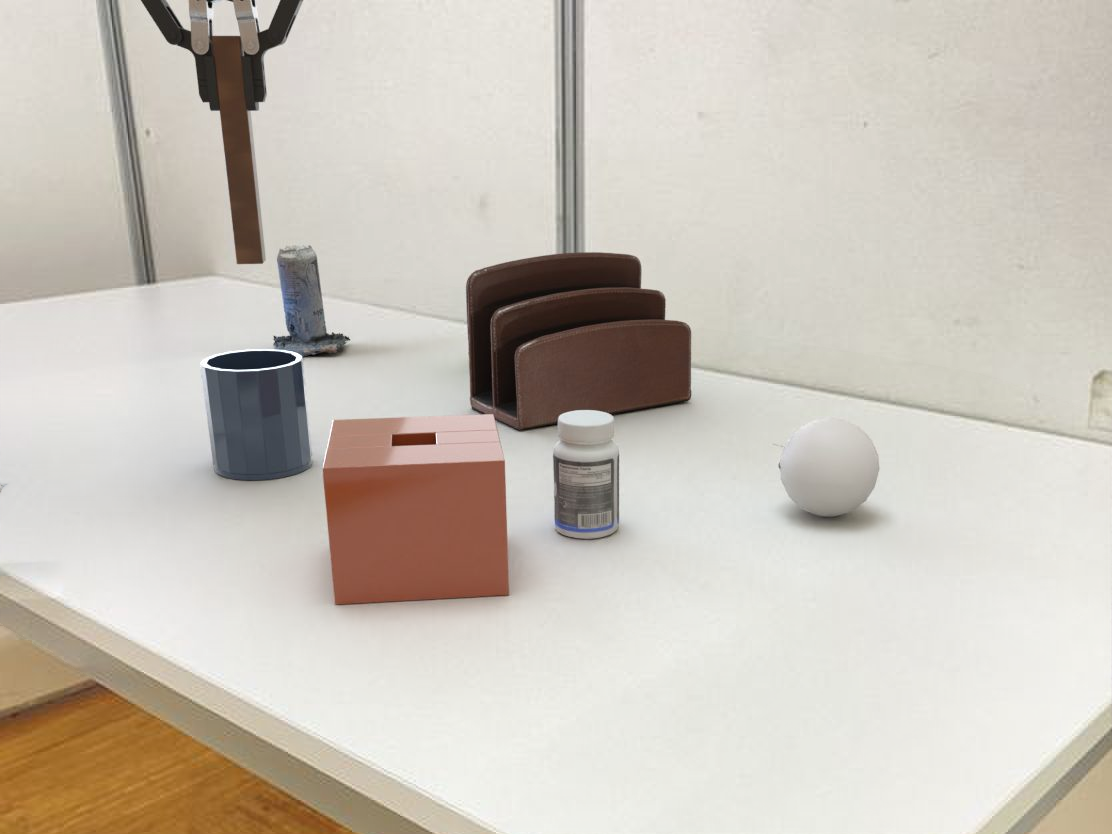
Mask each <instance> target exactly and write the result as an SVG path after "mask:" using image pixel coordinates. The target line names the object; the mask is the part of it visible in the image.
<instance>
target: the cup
mask: <svg viewBox="0 0 1112 834" xmlns="http://www.w3.org/2000/svg"><path fill="white" fill-rule="evenodd" d="M199 366H200V373H201V381H202V389H203V398H204V404H205V412H206V420H207V429H208V435H209V443H210V450H211V459H212V464H213V468H214V472H215V473H216V474H217V475H218V476H220V477H223V478H226V479H230V480H239V481H265V480H276V479H281V478H287V477H291V476H294V475H297V474H300V473H302V472H304V471H306V470H308V469H310V468H311V466H312V465H313V450H312V449H313V447H312V437H311V428H310V418H309V417H310V416H309V408H308V397H307V396H308V395H307V389H306V388H307V385H306V376H305V365H304V357H302V356H301V355H299V354H298V353H295V352H293V351H292V352H290V351H285V350H275V349H267V348H264V349H263V348H262V349H259V348H258V349H243V350H234V351H227V352H223V353H222V352H221V353H216V354H213V355H210V356H208V357H206V358H204V359H202V360H201V362H200V363H199Z"/></svg>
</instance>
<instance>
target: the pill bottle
mask: <svg viewBox="0 0 1112 834" xmlns="http://www.w3.org/2000/svg"><path fill="white" fill-rule="evenodd" d="M614 437H615V418H614V416H613V414H608V413H605V412H601V411H595V410H576V411H570V412H566V413H563V414H561V415H560V416H559V417H558V423H557V438H558V439H559V440H558V441H557V442H556V443H555V444H554V447H553V450H552V451H553V452H552V460H553V461H552V462H553V463H552V465H553V467H552V470H553V499H554V501H553V502H554V504H553V505H554V506H553V507H554V510H553V511H554V515H553V516H554V528H555V530H556V531H557V532H558V533H559V534H561V535H562V536H565V537H569V538H574V539H584V540H591V539H599V538H605V537H607V536H610V535H612V534H613V533H615V532H616V531H617V530H618V529H619V526H620V448H619V446H618V444H617V442H616V441H614V440H613V439H614Z"/></svg>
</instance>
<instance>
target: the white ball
mask: <svg viewBox="0 0 1112 834" xmlns="http://www.w3.org/2000/svg"><path fill="white" fill-rule="evenodd" d="M771 445H773V446H776V447H779V448H783V449H782V451H781V455H780V460H779V463H778V468H779V474H780V475H779V476H780V481H781V484H782V486H783V488H784V490H785V492H786V494H787V497H788V498H789V499H790V500H791V501H792V502H793V503H794V504H795V505H796V506H797V507H798V508H800V509H801V510H803V511H805V512H807V513H810V514H812V515H814V516H818V517H823V518H824V517H825V518H832V517H837V516H841V515H844V514H848V513H851V512H853V511H854V510H856V509H857V508H859V507H860V506H861V505H862V504H864V503H865V502H866V501H867V500H868V498H869V497H870V496H871V494H872V492H873V491H874V490H875V487H876V485H877V481H878V477H879V473H880V460H879V458H880V457H879V453H878V451H877V448H876V446H875V444H874V442H873V440H872V438H871V437H870V436H869V435H868V434H867V433H866V432H865V430H864V429H862V428H861V427H860V426H858V425H856V424H855V423H852V422H851V421H849V420H846V419H843V418H839V417H822V418H818V419H815V420H812V421H810V422H807V423H805V424H803V425H802V426H801V427H800V428H798V429H797V430H795V432H793V433H792V435H791V436H790V437H789V439H788V441H787V443H785V446H783V445H780V444H777V443H772V444H771Z"/></svg>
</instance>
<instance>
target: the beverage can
mask: <svg viewBox="0 0 1112 834" xmlns="http://www.w3.org/2000/svg"><path fill="white" fill-rule="evenodd" d="M276 262H277V270H278V277H279V284H280V290H281V297H282V305H283V311H284V318H285V326H286V331H287V332H288V333H289V335H281V336H276V335H272V336H273V338H272V340H273V341H274V342H273V343H272V346H273V347H274V350H285V351H290V352H295V353H298V354H299V355H301V356H302V357H303V358H305V357H307V356H310V355H312V356H315V355H316V354H319V353H320V354H322V353H324V352H325V353H328V354H333V353H335V354H336V353H337V354H338V351H339V350H340V348H341V347H345V346H346V345H347V343H348V342H350V341H351V338H350V336H347V335H344V334H343V333H341V332H339V333H334V332H333V331H332V332H331V334H330V333H328V331H327V325H326V318H325V310H324V302H323V293H322V287H321V280H320V272H319V263H318V256H317V253H316V251H315V250H314V249H313V247H312V245H310V244H308V246H307V245H292V246H290V245H289V246H288V245H287V246H286V247H284V248H281V247H280V248H279V250H278V253H277V256H276Z"/></svg>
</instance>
